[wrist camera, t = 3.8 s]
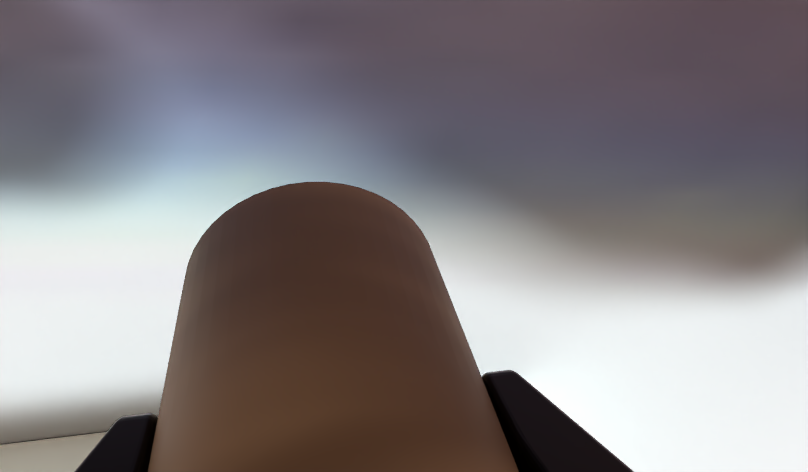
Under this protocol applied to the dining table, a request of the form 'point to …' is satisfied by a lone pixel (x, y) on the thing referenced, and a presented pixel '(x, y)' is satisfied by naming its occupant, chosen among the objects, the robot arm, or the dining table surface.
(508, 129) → the dining table surface
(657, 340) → the dining table surface
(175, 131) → the dining table surface
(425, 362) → the peg
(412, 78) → the dining table surface
